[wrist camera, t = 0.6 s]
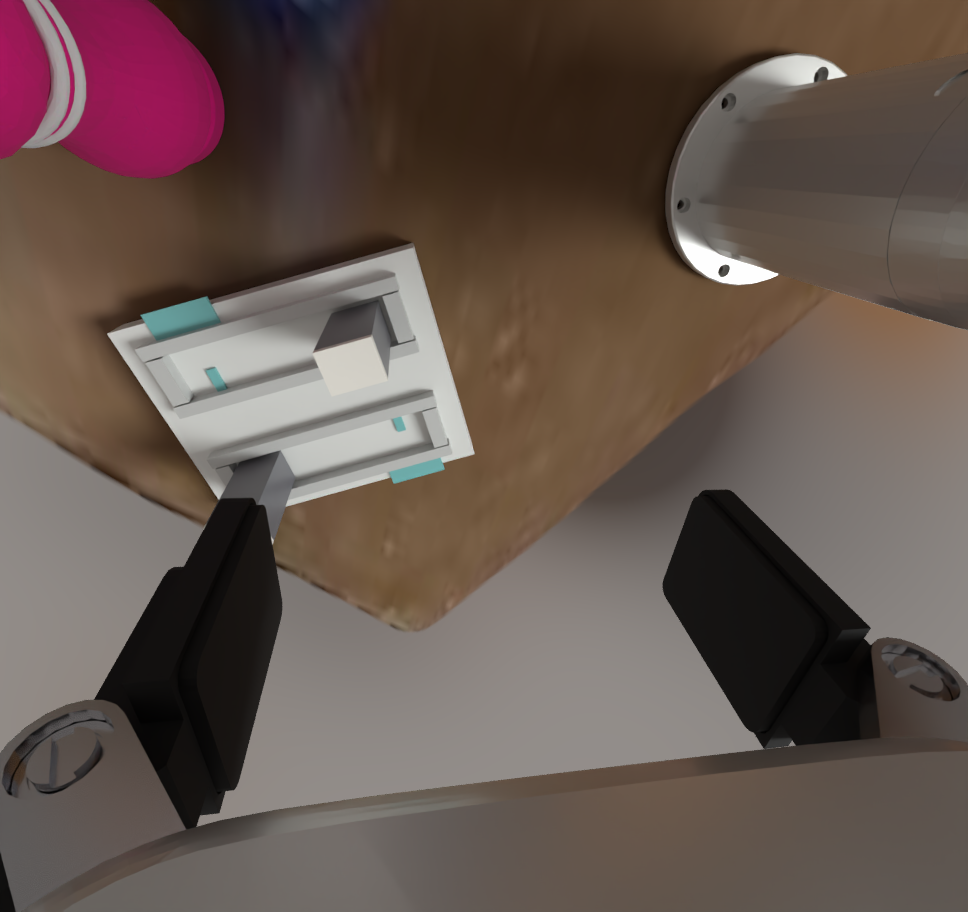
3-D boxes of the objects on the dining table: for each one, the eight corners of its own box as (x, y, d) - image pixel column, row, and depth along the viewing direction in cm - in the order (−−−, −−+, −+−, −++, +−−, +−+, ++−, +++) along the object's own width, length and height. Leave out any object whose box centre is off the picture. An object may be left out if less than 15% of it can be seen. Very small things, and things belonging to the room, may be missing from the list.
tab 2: (378, 299, 30) (371, 336, 24) (391, 336, 31) (387, 380, 25) (331, 313, 30) (312, 353, 24) (346, 349, 31) (331, 396, 25)
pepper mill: (179, 205, 28) (-164, 274, 11) (48, 80, 25) (-739, -98, 8) (264, 111, 26) (14, 24, 9) (137, -38, 23) (-617, -595, 6)
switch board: (410, 234, 30) (411, 241, 28) (472, 446, 39) (477, 466, 36) (118, 316, 31) (92, 330, 28) (243, 510, 39) (232, 534, 37)
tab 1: (280, 450, 34) (253, 515, 28) (295, 477, 36) (272, 544, 29) (239, 461, 34) (203, 528, 28) (256, 488, 36) (224, 558, 29)
